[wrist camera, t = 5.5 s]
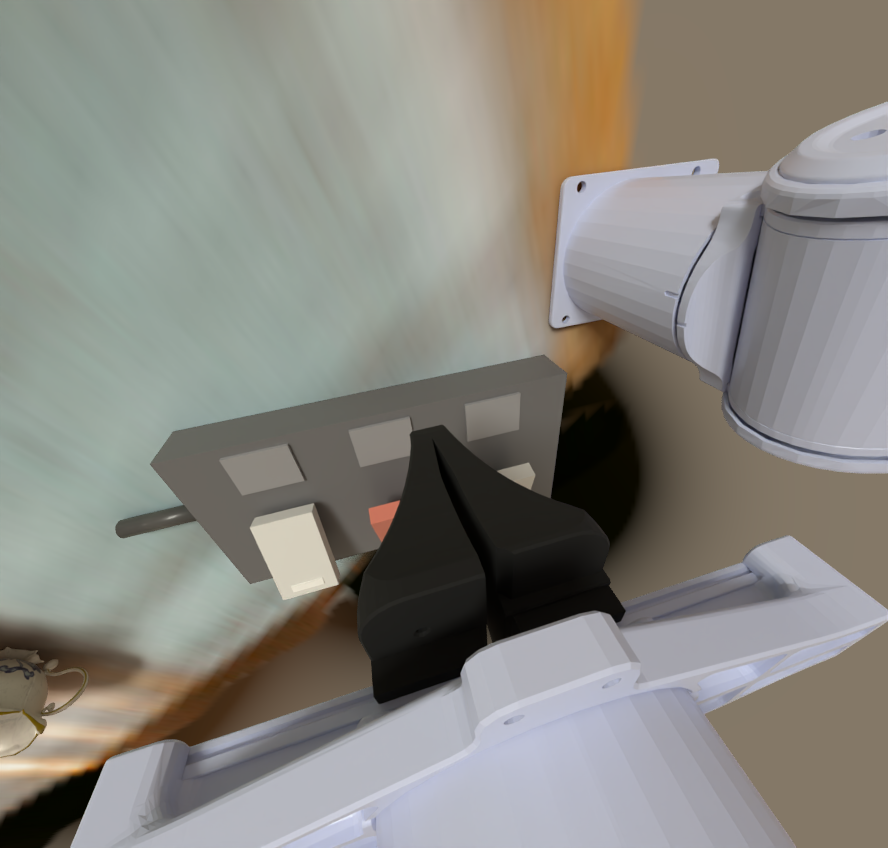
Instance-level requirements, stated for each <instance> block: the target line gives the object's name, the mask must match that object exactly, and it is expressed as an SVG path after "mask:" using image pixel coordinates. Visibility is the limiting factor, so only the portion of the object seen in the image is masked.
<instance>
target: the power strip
mask: <svg viewBox="0 0 888 848" xmlns="http://www.w3.org/2000/svg"><path fill="white" fill-rule="evenodd" d="M566 378H567V373H566V372H565V371H564V370H562V369H561V368H560V367H559V366H557V365H556V364H555V363H554V362H552V361H551V360H550V359H549V358H547V357H546V356H545V355H541V356H536V357H531V358H526V359H522V360H517V361H512V362H507V363H502V364H497V365H493V366H488V367H483V368H478V369H473V370H469V371H464V372H459V373H454V374H449V375H444V376H440V377H435V378H430V379H425V380H420V381H415V382H411V383H406V384H401V385H396V386H391V387H386V388H382V389H377V390H372V391H367V392H362V393H357V394H353V395H348V396H343V397H338V398H333V399H329V400H324V401H319V402H314V403H309V404H304V405H300V406H295V407H290V408H285V409H280V410H275V411H271V412H266V413H261V414H256V415H251V416H246V417H242V418H237V419H232V420H227V421H222V422H217V423H213V424H208V425H203V426H198V427H193V428H189V429H184V430H179V431H174V432H172V434H171V435H170V437H169V438H168V440H167V441H166V442H165V444H164V445H163V447H162V448H161V449H160V451H159V452H158V454H157V455H156V456H155V458H154V459H153V461H152V462H151V463H150V465H151V466H152V467H153V469H154V470H155V471H156V472H157V473H158V475H159V476H160V477H161V478H162V479H163V481H164V482H165V483H166V484H167V485H168V487H169V488H170V489H171V490H172V491H173V492H174V494H175V495H176V496H177V497H178V498H179V500H180V501H181V502H182V503H183V504H184V505H183V506H179V507H174V508H170V509H166V510H162V511H157V512H153V513H149V514H145V515H141V516H136V517H132V518H128V519H124V520H120V521H119V522H118V523H117V525H116V534H117V535H118V536H119V537H120V538H127V537H131V536H135V535H139V534H143V533H147V532H151V531H155V530H159V529H163V528H168V527H172V526H176V525H180V524H184V523H188V522H192V521H196V520H197V521H198V522H199V524H200V525H201V526H202V527H203V528H204V530H205V531H206V532H207V533H208V534H209V535H210V537H211V538H212V539H213V540H214V541H215V543H216V544H217V545H218V546H219V547H220V549H221V550H222V551H223V552H224V553H225V555H226V556H227V557H228V558H229V559H230V561H231V562H232V563H233V564H234V565H235V567H236V568H237V569H238V570H239V571H240V573H241V574H242V575H243V576H244V577H245V579H246V580H247V581H248V582H249V583H250V584H252V583H256V582H259V581H263V580H267V579H270V578H273V577H272V574H271V572H270V570H269V568H268V566H267V564H266V562H265V560H264V557H263V555H262V553H261V551H260V549H259V547H258V545H257V542H256V540H255V538H254V536H253V534H252V532H251V530H250V526H251V524H252V522H253V520H254V518H256V517H260V516H264V515H268V514H272V513H276V512H280V511H284V510H288V509H292V508H296V507H300V506H304V505H308V504H312V503H314V504H315V507H316V510H317V512H318V515H319V518H320V521H321V523H322V526H323V529H324V532H325V534H326V537H327V540H328V543H329V545H330V548H331V551H332V554H333V556H334V559H335V560H339V559H343V558H346V557H350V556H353V555H357V554H361V553H364V552H368V551H372V550H375V549H379V547H380V545H381V543H382V542H381V540H380V539H379V537H378V535H377V534H376V532H375V530H374V529H373V527H372V525H371V522H370V515H369V509H368V508H372V507H376V506H380V505H384V504H388V503H392V502H395V501H399V500H400V499H401V496H402V493H403V489H404V486H405V481H406V477H407V473H408V467H409V460H410V450H411V441H410V435H409V434H410V433H411V432H412V431H416V430H420V429H425V428H429V427H434V426H438V425H444V426H445V427H446V428H447V429H448V430H449V431H450V432H451V433H452V434H453V435H454V436H455V437H456V438H457V439H458V440H459V441H460V442H461V443H462V444H463V445H464V446H465V447H466V448H467V449H469V450H470V451H471V452H472V453H473V454H474V455H476V456H477V457H478V458H479V459H481V460H482V461H483V462H485V463H486V464H487V465H489V466H490V467H492V468H493V469H494V470H496V471H498V470H502V469H506V468H510V467H514V466H517V465H521V464H525V463H529V464H530V466H531V468H532V470H533V471H534V473H535V478H534V481H533V484H532V487H531V490H532V491H534V492H536V493H538V494H541V495H543V496H546V497H548V498H551V491H552V483H553V476H554V468H555V461H556V453H557V446H558V438H559V431H560V423H561V416H562V408H563V401H564V393H565V386H566Z"/></svg>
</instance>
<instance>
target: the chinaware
mask: <svg viewBox="0 0 888 848" xmlns="http://www.w3.org/2000/svg"><path fill="white" fill-rule="evenodd" d="M36 652H38V650H36V651H28V650H20V649H11V648H9V647H6V648H5V650H1V651H0V757H6V756H13V755H16V754H18V753H20V752H21V751H23V750H24V749H26V748H27V747H29V746H30V745H31V743H32V742H33V741H34V739H35V738H36V737H37V736H38V734H42V733H43V731H44V729H45V727H46V725H47V722H46V720H45V719H42V716H49V715H54V714H57V713H59V712H61V711H63V710H65V709H67V708H68V707H69V706H71V705H72V704H73V703H74V702H75V701H76V700H77V699H78V698H79V697H80V696H81V695H82V693H83V692H84V690H85V688H86V686H87V684H88V679H89V677H88V673H87V671H86V670H85V669H84V668H81V667H72V668H68V669H66V670H63V671H60V672H51V671H50V670H52V669H54V668H55V667H56V666H57V665H58V659H53V660H50V661H48V662H47V663H46V664H45V665H44V666H43V668H42V670H43V671H44V672H43V671H42V670H41V669H40V668H39V667H38V666H37V665H35V664H37V663H42V662H44V661H42V660H40V658H39V656H38V655H37V654H36ZM73 671H77V672H80V673H81V674H82V675H83V677H84V681H83V684H82V687H81V688H80V690H79V691H78V692H77V694H76V695H75V696H74V697H73V698H72V699H71V700H70V701H68V702H67V703H66V704H64V705H63V706H61V707H60V708H58V709H56V710H53V709H54V707H55V703H51V704H49V705H48V706H47V707H46V708H44V706H45V703H46V700H47V695H48V682H47V678H46V675H48V676H58V675H61V674H65V673H68V672H73ZM46 710H48V711H49V712H45V711H46Z"/></svg>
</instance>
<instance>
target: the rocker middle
mask: <svg viewBox="0 0 888 848" xmlns="http://www.w3.org/2000/svg"><path fill="white" fill-rule="evenodd" d="M399 502H400V500H399V501H395V502H392V503H388V504H384V505H380V506H376V507H372V508H368V509H369V515H370V522H371V525H372V527H373V529H374V530H375V532H376V534H377V535H378V537H379V539H380V540H381V542H382V541H383V539H384V537H385V535H386V533H387V531H388V529H389V527H390V525H391V523H392V520H393V518H394V515H395V513H396V510H397V508H398V505H399Z"/></svg>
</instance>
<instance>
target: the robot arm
mask: <svg viewBox="0 0 888 848" xmlns="http://www.w3.org/2000/svg"><path fill="white" fill-rule="evenodd" d="M693 169H695V171H694V174H693V175H692V172H693ZM718 169H719V161H718V160H717V159H707V160H699V161H692V162H683V163H675V164H667V165H659V166H651V167H643V168H635V169H627V170H619V171H611V172H603V173H595V174H587V175H580V176H572V177H568V178H566V179H565V180H564V181H563V183H562V185H561V190H560V201H559V212H558V223H557V235H556V246H555V257H554V269H553V280H552V291H551V303H550V314H549V324H550V326H552V327H554V328H562V327H567V326H572V325H577V324H582V323H587V322H592V321H597V320H602V319H603V320H605V321H607V322H609V323H611V324H613V325H615V326H618V327H620V328H622V329H624V330H626V331H628V332H630V333H632V334H634V335H636V336H638V337H640V338H642V339H645V340H647V341H649V342H651V343H653V344H655V345H657V346H659V347H661V348H664V349H665V350H667V351H670V352H672V353H674V354H676V355H678V356H680V357H682V358H684V359H686V360H688V361H691V362H692V363H694V364H695V365H696V366H697V367H698V369H699V373H700V380H701V381H703V382H705V383H707V384H709V385H711V386H713V387H715V388H716V389H718V390H720V391H722V392H723V396H722V411H723V414H724V418H725V419H726V421H727V423H728V424H729V426H730V427H731V428H732V429H733V430H734V431H735V432H736V433H737V434H738V435H739V436H740V437H742V438H743V439H745V440H746V441H747V442H749V443H750V444H752V445H754V446H755V447H757V448H759V449H761V450H763V451H765V452H767V453H769V454H772V455H774V456H776V457H779V458H782V459H785V460H788V461H791V462H794V463H797V464H801V465H805V466H809V467H813V468H818V469H825V470H831V471H837V472H849V473H888V102H885V103H882V104H880V105H877V106H874V107H871V108H869V109H866V110H863V111H861V112H858V113H856V114H853V115H851V116H848V117H846V118H844V119H841V120H839V121H837V122H835V123H832V124H831V125H829V126H826V127H824V128H823V129H821V130H819V131H817V132H815V133H814V134H812V135H811V136H809V137H808V138H806V139H805V140H804V141H803V142H802V143H800V144H799V145H798V146H797V147H796V148H795V149H794V150H792V151H791V152H790V153H789V154H788V155H786V156H785V157H784V158H782V159H781V160H779V161H778V162H777V163H776V164H775V165H774V166H773V167H772V168H771V169H770V170H769V171H757V172H740V173H721V174H717V172H718ZM579 182H581V184H582V188H581V190H580V192H578V191H577V186H578V184H579ZM564 316H566V319H565V320H564V321H563V322H562V319H563V317H564ZM409 435H410V441H411V450H410V460H409V467H408V473H407V477H406V481H405V486H404V489H403V493H402V496H401V499H400V502H399V505H398V508H397V510H396V513H395V515H394V518H393V520H392V523H391V525H390V527H389V529H388V531H387V533H386V535H385V537H384V539H383V541H382V543H381V545H380V547H379V549H378V550H377V552H376V554H375V555H374V557H373V559H372V560H371V562H370V564H369V565H368V567H367V569H366V570H365V572H364V574H363V579H362V583H361V588H360V593H359V600H358V610H357V622H358V636H359V640H360V642H361V644H362V646H363V647H364V649H365V651H366V652H367V654H368V656H369V657H370V659H371V666H372V682H373V686H371V687H368V688H365V689H362V690H359V691H356V692H353V693H350V694H347V695H344V696H341V697H338V698H335V699H332V700H329V701H326V702H323V703H320V704H317V705H314V706H311V707H308V708H305V709H302V710H300V711H296V712H293V713H290V714H288V715H284V716H281V717H278V718H275V719H273V720H269V721H266V722H263V723H260V724H257V725H255V726H252V727H248V728H245V729H242V730H239V731H236V732H234V733H231V734H227V735H225V736H222V737H219V738H215V739H213V740H209V741H207V742H204V743H201V744H198V745H195V746H192V747H189V746H188V745H187V744H185V743H184V742H182V741H179V740H164V741H159V742H156V743H152V744H149V745H146V746H143V747H140V748H137V749H134V750H131V751H128V752H125V753H122V754H119V755H116V756H113V757H111V758H110V759H109V760H107V761H106V763H105V765H104V768H103V770H102V772H101V775H100V777H99V780H98V782H97V784H96V787H95V789H94V792H93V794H92V796H91V799H90V801H89V804H88V806H87V808H86V811H85V813H84V816H83V818H82V820H81V823H80V825H79V828H78V830H77V833H76V835H75V837H74V840H73V842H72V845H71V847H70V848H797V847H796V846H795V844H794V843H793V841H792V840H791V838H790V837H789V836H788V834H787V833H786V831H785V830H784V828H783V827H782V825H781V824H780V823H779V821H778V820H777V818H776V817H775V815H774V814H773V812H772V811H771V810H770V808H769V807H768V805H767V804H766V802H765V801H764V800H763V798H762V797H761V795H760V794H759V792H758V791H757V790H756V788H755V787H754V785H753V784H752V782H751V781H750V779H749V778H748V777H747V775H746V774H745V772H744V771H743V770H742V768H741V766H740V765H739V764H738V762H737V761H736V759H735V758H734V756H733V755H732V754H731V752H730V751H729V749H728V748H727V746H726V745H725V744H724V742H723V741H722V739H721V738H720V736H719V735H718V734H717V732H716V731H715V729H714V728H713V726H712V725H711V724H710V722H709V721H708V719H707V718H706V716H705V715H704V714H706V713H708V712H710V711H713V710H715V709H717V708H719V707H721V706H724V705H725V704H728V703H730V702H732V701H734V700H737V699H738V698H741V697H743V696H745V695H747V694H749V693H752V692H754V691H756V690H758V689H760V688H763V687H765V686H767V685H769V684H772V683H774V682H776V681H778V680H780V679H782V678H784V677H787V676H789V675H792V674H794V673H796V672H799V671H801V670H803V669H806V668H808V667H810V666H813V665H815V664H818V663H820V662H823V661H825V660H827V659H829V658H832V657H835V656H836V655H838V654H839V653H841V652H842V651H844V650H845V649H847V648H848V647H850V646H851V645H853V644H854V643H856V642H857V641H859V640H860V639H862V638H863V637H865V636H866V635H868V634H869V633H871V632H872V631H874V630H875V629H877V628H878V627H880V626H881V625H883V624H884V623H886V622H887V621H888V610H887V609H886V608H885V607H883V606H882V605H881V604H880V603H878V602H877V601H876V600H874V599H873V598H872V597H870V596H869V595H868V594H866V593H865V592H864V591H862V590H861V589H860V588H858V587H857V586H856V585H855V584H853V583H852V582H851V581H849V580H848V579H847V578H845V577H844V576H843V575H841V574H840V573H839V572H837V571H836V570H835V569H834V568H832V567H831V566H830V565H828V564H827V563H826V562H824V561H823V560H822V559H820V558H819V557H818V556H816V555H815V554H814V553H812V552H811V551H810V550H808V549H807V548H806V547H805V546H803V545H802V544H801V543H799V542H798V541H797V540H795V539H794V538H793V537H792V536H783V537H780V538H777V539H774V540H771V541H768V542H765V543H762V544H759V545H757V546H755V547H754V548H752V549H751V550H750V551H749V552H748V553H747V554H746V555H745V557H744V559H743V562H741V563H739V564H736V565H732V566H729V567H727V568H723V569H720V570H717V571H714V572H712V573H709V574H706V575H702V576H699V577H697V578H693V579H691V580H688V581H685V582H682V583H679V584H676V585H673V586H670V587H667V588H664V589H661V590H658V591H655V592H652V593H649V594H646V595H643V596H640V597H637V598H634V599H631V600H628V601H625V602H622V603H620V601H619V600H618V598H617V597H616V595H615V594H614V593H613V591H612V590H611V588H610V587H609V585H610V579H609V578H608V576H607V575H606V573H605V572H604V570H603V566H604V563H605V560H606V557H607V554H608V551H609V544H610V542H609V540H608V537H607V536H606V534H605V533H604V532H603V531H602V529H601V528H600V527H599V526H598V524H597V523H596V522H595V521H594V520H593V519H592V518H591V517H590V516H589V515H588V514H587V513H586V512H585V511H584V510H583V509H580V508H577V507H574V506H571V505H568V504H565V503H561V502H558V501H556V500H553V499H551V498H548V497H546V496H543V495H541V494H538V493H536V492H534V491H532V490H530V489H528V488H526V487H524V486H522V485H520V484H518V483H516V482H514V481H512V480H511V479H509V478H507V477H505V476H504V475H502V474H501V473H499V472H497V471H496V470H494V469H493V468H492V467H490V466H489V465H487V464H486V463H485V462H483V461H482V460H481V459H479V458H478V457H477V456H476V455H474V454H473V453H472V452H471V451H470V450H469V449H467V448H466V447H465V446H464V445H463V444H462V443H461V442H460V441H459V440H458V439H457V438H456V437H455V436H454V435H453V434H452V433H451V432H450V431H449V430H448V429H447V428H446V427H445V426H444V425H438V426H434V427H429V428H425V429H420V430H416V431H412V432H411V433H410V434H409ZM486 624H487V625H488V629H489V632H490V635H491V639H492V644H490V645H487V631H486Z"/></svg>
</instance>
